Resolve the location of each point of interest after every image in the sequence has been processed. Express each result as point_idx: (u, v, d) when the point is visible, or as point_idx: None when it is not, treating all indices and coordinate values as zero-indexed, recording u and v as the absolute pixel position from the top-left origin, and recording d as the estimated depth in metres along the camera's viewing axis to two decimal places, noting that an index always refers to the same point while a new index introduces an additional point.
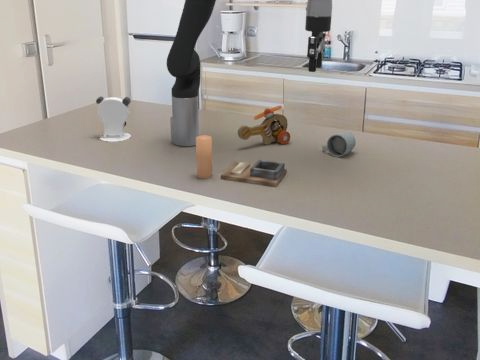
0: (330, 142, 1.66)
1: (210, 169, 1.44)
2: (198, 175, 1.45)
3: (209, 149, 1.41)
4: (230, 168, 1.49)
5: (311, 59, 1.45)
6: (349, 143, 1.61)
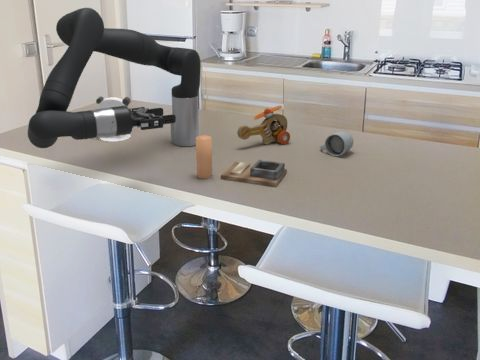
0: (328, 142, 1.66)
1: (210, 169, 1.44)
2: (198, 175, 1.45)
3: (209, 149, 1.41)
4: (230, 168, 1.49)
5: None
6: (347, 142, 1.62)
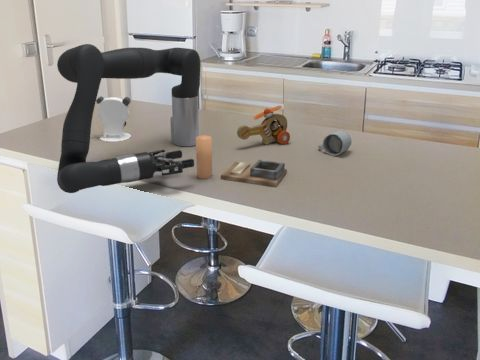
0: (326, 141, 1.67)
1: (210, 169, 1.44)
2: (198, 175, 1.45)
3: (209, 149, 1.41)
4: (230, 168, 1.49)
5: None
6: (345, 142, 1.62)
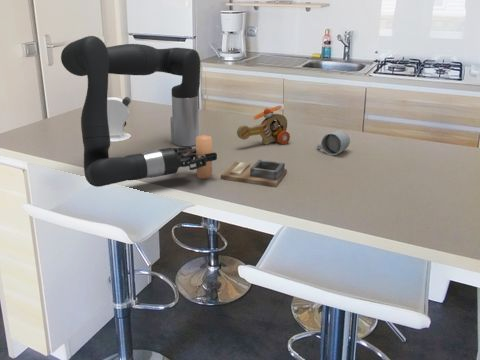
0: (324, 141, 1.67)
1: (210, 169, 1.44)
2: (198, 175, 1.45)
3: (209, 149, 1.41)
4: (230, 168, 1.49)
5: None
6: (343, 142, 1.63)
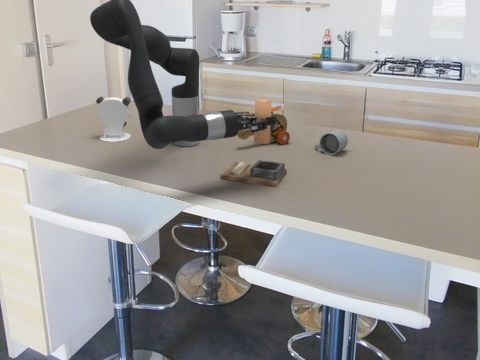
0: (323, 140, 1.68)
1: (268, 134, 1.39)
2: (256, 140, 1.40)
3: (268, 112, 1.36)
4: (230, 168, 1.49)
5: None
6: (341, 141, 1.63)
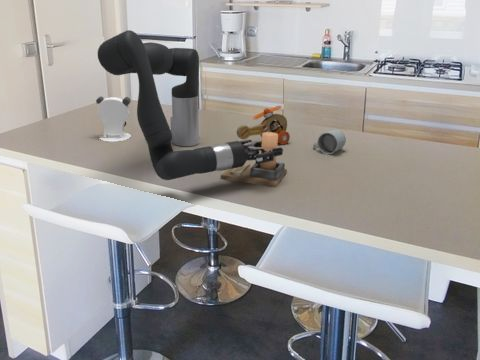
0: (321, 140, 1.68)
1: (274, 166, 1.44)
2: None
3: (275, 145, 1.41)
4: None
5: None
6: (339, 141, 1.64)
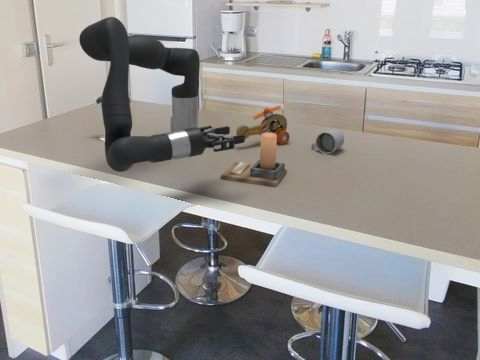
0: (319, 139, 1.68)
1: (274, 167, 1.43)
2: None
3: (274, 146, 1.40)
4: (230, 168, 1.49)
5: None
6: (337, 140, 1.64)
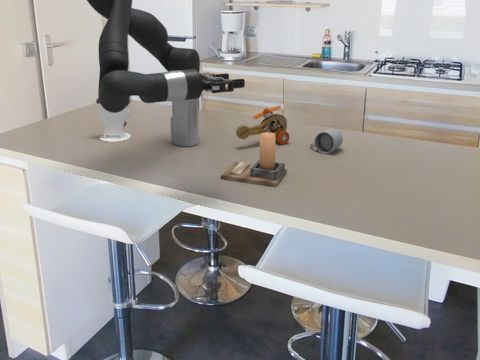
0: (317, 139, 1.69)
1: (273, 166, 1.43)
2: None
3: (273, 146, 1.41)
4: (230, 168, 1.49)
5: None
6: (336, 140, 1.64)
